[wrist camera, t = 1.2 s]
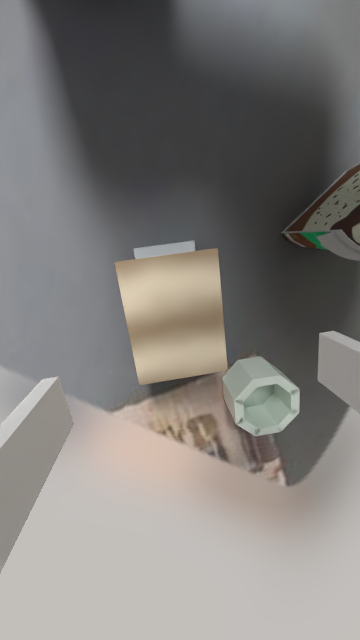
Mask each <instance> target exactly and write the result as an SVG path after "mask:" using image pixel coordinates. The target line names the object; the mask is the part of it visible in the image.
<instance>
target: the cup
mask: <svg viewBox="0 0 360 640" xmlns="http://www.w3.org/2000/svg"><path fill="white" fill-rule="evenodd" d="M222 383H223V394H224V400H225V402H226V404H227V406H228V409H229V411H230V413H231V415H232V417H233V419H234V421H235V424H236V425H238V426H240V427H241V428H243V429H244V430H246V431H248V432H249V433H251V434H252V435H254V436H261V435H266V434H271V433H277V432H281V431H282V430H283V429H284V428H285V427H286V426H287V425H288V424H289V423H290V422H291V421H292V420H293V419H294V418H295V417H296V416H297V415H298V413H299V395H300V389H299V388H298V387H297V386H296V385H295V384H294V383H293V382H291V381H290V380H289V379H288V378H287V377H286V376H285V375H284V374H283V373H282V372H281V371H280V370H279V369H278V368H276V367H275V366H273V365H272V364H271V363H269V362H268V361H267V360H265V359H264V358H263V357H261V356H259V357H253V358H247V359H241V360H237V361H236V362H235V363H234V365H233V366H232V367H231V368H230V369H229V370H228V372H227V373H226V374H225V375H224V376H223V377H222Z"/></svg>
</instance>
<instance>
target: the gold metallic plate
mask: <svg viewBox="0 0 360 640" xmlns="http://www.w3.org/2000/svg"><path fill="white" fill-rule="evenodd" d="M115 267H116V272H117V277H118V282H119V287H120V292H121V297H122V302H123V307H124V312H125V317H126V321H127V326H128V331H129V336H130V341H131V346H132V351H133V356H134V361H135V366H136V371H137V376H138V380H139V385H144V384H150V383H156V382H162V381H168V380H174V379H180V378H186V377H192V376H198V375H204V374H210V373H216V372H222V371H228V368H227V356H226V343H225V331H224V319H223V307H222V294H221V282H220V270H219V257H218V248H214V249H206V250H199V251H191V252H184V253H177V254H169V255H162V256H155V257H147V258H140V259H133V260H125V261H118V262H115Z"/></svg>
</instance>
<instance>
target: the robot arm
mask: <svg viewBox="0 0 360 640" xmlns="http://www.w3.org/2000/svg"><path fill="white" fill-rule="evenodd" d="M318 381H319V382H320V383H321V384H323V385H324V386H325V387H327V388H328V389H329V390H330V391H332V392H333V393H334V394H336V395H337V396H338V397H339V398H341V399H342V400H343V401H345V402H346V403H347V404H348V405H350V406H351V407H352V408H353V409H355V410H356V411H357V412H359V413H360V342H359V341H356V340H354V339H352V338H349V337H347V336H345V335H342V334H340V333H338V332H335V331H329V332H323V333H319V355H318ZM73 424H74V423H73V421H72V417H71V414H70V411H69V408H68V405H67V401H66V398H65V395H64V392H63V389H62V386H61V382H60V379H59V377H53V378H47V379H42V380H41V381H40V382H39V383H38V385H37V386H36V387H35V388H34V389H33V390H32V391H31V392H30V393H29V394H28V395H27V396H26V398H25V399H24V400H23V401H22V402H21V403H20V404H19V405H18V406H17V407H16V408H15V410H14V411H13V412H12V413H11V414H10V415H9V416H8V417H7V418H6V419H5V420H4V421H3V422H2V424H1V425H0V572H1V570H2V568H3V566H4V564H5V562H6V560H7V558H8V556H9V554H10V552H11V550H12V548H13V546H14V544H15V542H16V540H17V538H18V536H19V534H20V532H21V530H22V527H23V526H24V524H25V522H26V520H27V518H28V516H29V513H30V511H31V509H32V507H33V505H34V503H35V501H36V499H37V497H38V495H39V493H40V491H41V489H42V487H43V485H44V483H45V481H46V479H47V477H48V475H49V473H50V471H51V469H52V467H53V465H54V462H55V461H56V459H57V457H58V455H59V452H60V451H61V449H62V447H63V445H64V443H65V441H66V438H67V436H68V434H69V432H70V430H71V428H72V426H73Z"/></svg>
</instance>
